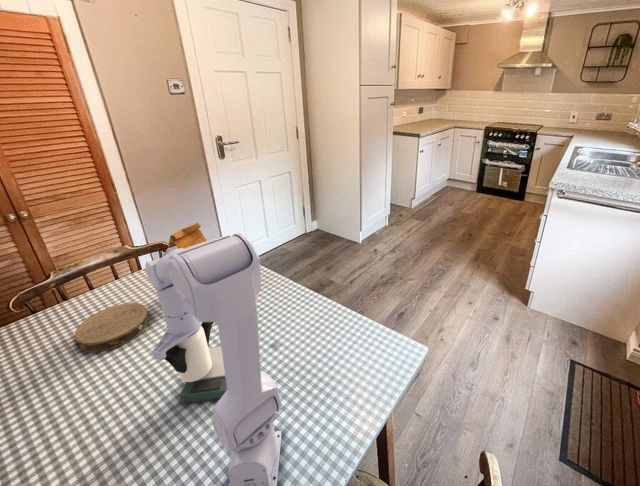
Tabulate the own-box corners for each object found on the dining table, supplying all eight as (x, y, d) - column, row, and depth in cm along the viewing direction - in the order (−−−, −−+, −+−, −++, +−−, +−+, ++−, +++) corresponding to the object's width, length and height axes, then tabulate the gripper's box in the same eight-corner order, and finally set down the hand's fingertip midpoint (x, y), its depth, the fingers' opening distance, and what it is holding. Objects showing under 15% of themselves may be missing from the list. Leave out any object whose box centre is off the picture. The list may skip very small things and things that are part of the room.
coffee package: (224, 278, 109) (213, 222, 101) (194, 298, 98) (179, 238, 90) (203, 272, 113) (191, 218, 104) (172, 291, 102) (156, 233, 94)
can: (181, 364, 70) (169, 324, 66) (212, 355, 73) (202, 315, 68) (178, 388, 65) (165, 345, 60) (212, 376, 67) (201, 334, 63)
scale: (230, 396, 67) (228, 388, 66) (181, 403, 65) (178, 395, 64) (242, 350, 79) (241, 342, 78) (201, 355, 77) (199, 347, 76)
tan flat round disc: (133, 304, 96) (131, 296, 95) (160, 322, 88) (158, 314, 87) (68, 336, 83) (64, 328, 82) (93, 361, 75) (89, 352, 74)
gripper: (188, 285, 70) (200, 331, 75) (131, 330, 56) (150, 383, 61) (216, 289, 68) (226, 335, 73) (163, 336, 55) (180, 389, 60)
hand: (193, 357), depth 67 cm, fingers closed on can, 6 cm apart
